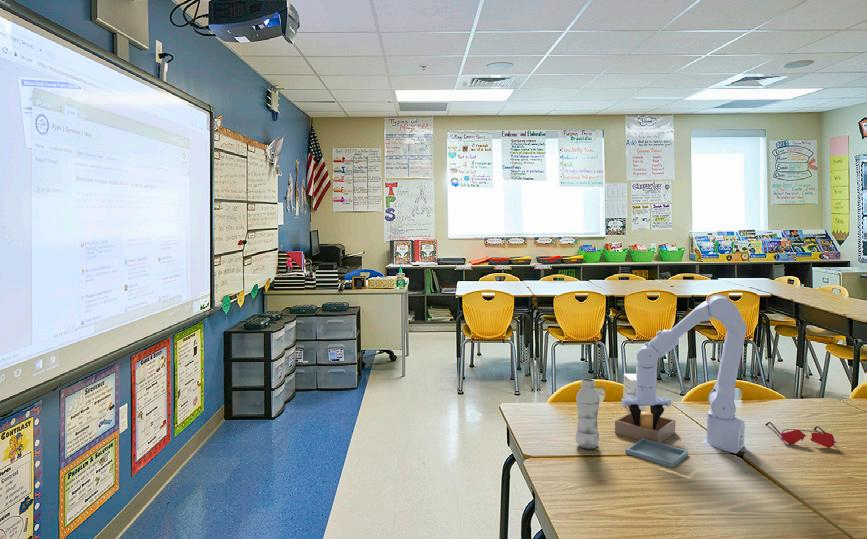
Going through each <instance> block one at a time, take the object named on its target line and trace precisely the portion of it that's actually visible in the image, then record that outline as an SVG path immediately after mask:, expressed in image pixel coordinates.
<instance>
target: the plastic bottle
mask: <svg viewBox="0 0 867 539" xmlns="http://www.w3.org/2000/svg"><path fill="white" fill-rule="evenodd" d="M580 386H581V388H580V389H579V390H578V392H577V393H576V397H575V399H576V408H577V427H576V428H577V429H576V432H575V441H576V444H577V446H578V447H580V448H583V449H587V450H592V449H597V447H598V446H599V444H600V443H599V442H600V434H599V428H598V425H599V424H598V414H599V413H598V412H599V408H600V407H599V406H600V395H599V393H598V392H597V391H596V390H595V389H596V380H595V379H592V378H588V377H587V378H582V379H581V385H580Z"/></svg>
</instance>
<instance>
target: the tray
mask: <svg viewBox="0 0 867 539" xmlns="http://www.w3.org/2000/svg"><path fill="white" fill-rule="evenodd" d="M625 454H626V455H629V456H633V457H636V458H639V459H642V460H645V461H650V462H652V463H655V464H658V465H662V466H664V467H668V468H670V469H673V468H674V467H676V466H677V465H679V464H680V462H682V461H683V460H684V459H685V458H687V457H688V456H689V450H686V449H682V448H679V447H676V446H672V445H668V444H665V443H663V442H661V443H658V442H655V441H651V440H648V439H644V438H642V439H640V440H637V441H636V442H634V443H633V444H630V446H628V447H627V448H625Z"/></svg>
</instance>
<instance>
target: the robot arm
mask: <svg viewBox="0 0 867 539" xmlns="http://www.w3.org/2000/svg"><path fill="white" fill-rule="evenodd" d="M711 317H712V318H714V319H716V321H718V322H720V323H721V324H722V325H723V327H725V329H726V332H725V337H724V343H723V347H722V351H721V357H720V362H719V368H718V372H717V377H716V381H714V385H713V389H712V390H711V391H710V393H709V394H708V396H707V398H708V403H709V404H710V408H709V410H707V416H706V417H707V418H706V438H705V439H704V440H703V441H701V444H703V445H707V446H710V447H715V448H718V450H721V451H725V452H728V453H732V454H738V453H739V452H740V451H741V450H742V449H743V448H744V447H745V429H746V427H745V426H746V424H745V421H744V420H743V419H739V418H738V417H736V411H737V407H736V404H735V397H736V396H735V395H736V394H735V393H736V389H735V388H736V382H737V377H738V373H739V367H740V365H741V364H740V363H741V359H742V354H743V348H744V344H745V340H746V339H745V338H746V334H747V329H748V328H747V324H746V323H745V320H744V318H743V316H742V315H741V312H740V311H739V309H738V307H737V306H736V305H735V304H734V303H733V302H732V301H731V300H730V299H728V297H726V296H724V295H723V294H714V295H712V296H710V297H709V298H708V299H707V300H705V301H703V302H701V303H700V304H699V305H697V306H695V307H694V309H693V310H691V311H690V312H689V313H687V315H686V316H685V317H683V318H682V319H681V320H680V321H679V322H678V323H676V324H675V325H674V326H673V327H672V328H671V329H667V328H666V329H663V330H662V331H661V330H658V331H657V332H656V335H655V336H654V337H653V338H651V340H649V342H648V341H646V342H645V343H644V345H643V346H640V348H638V350H637V353H636V360H637V364H636V366H637V368H638V369H637V382H636V397H632V398H623V397H622V398H621V400H620V401H621V402H620V403H621V404H620V405H621V406H622V407H626V406H628V407H629V409H630V410H629V409H628V410H629V411H630V412H631V414H632V417H633V420H634V425H636V426H640V415H641V412H642V411H641V410H640V409H639V407H638V406H644V407H646V406H649V407H650V413H652V414H653V430H655V429H656V426H657V423H658V420H659V418H660V417H662V415H663V414H664V412H665V408H664V406H666V407H671V405H672V402H671V401H672V400H671V399H670V398H668V397H667V398H665V397H657V381H658V380H657V379H658V378H657V375H658V373H657V364H658V361H659V358H663V357H664V356H665V355H666V354H668V353H669V352H671V350H673V349H674V348H676V347H677V346H679V339H680V338H681V337H682V336H683V335H685V333H687V332H688V331H690V330H691V329H692V328H694V327H695V326H697V325H698V324H699V323H700V322H711V321H713V320H712V318H711Z"/></svg>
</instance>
